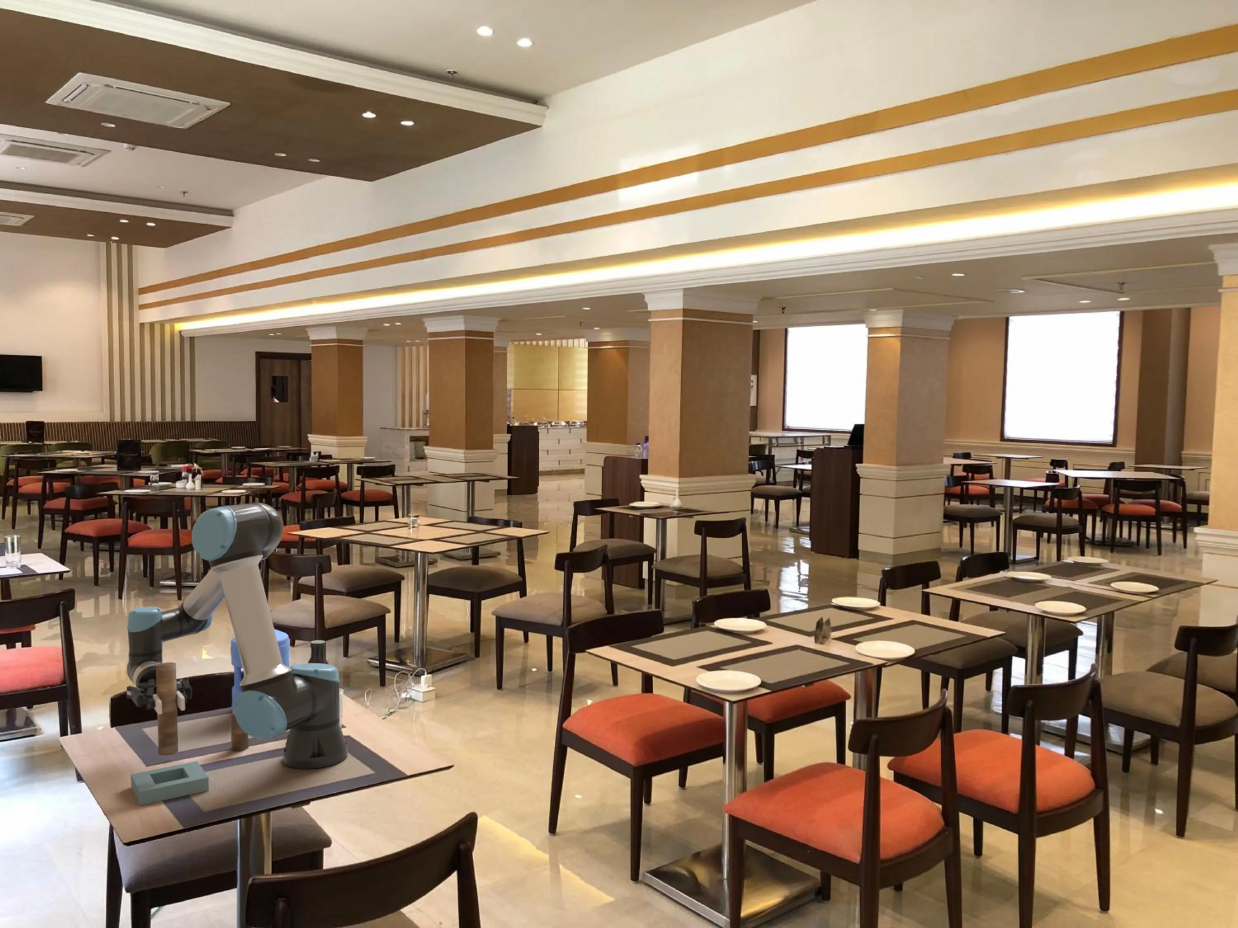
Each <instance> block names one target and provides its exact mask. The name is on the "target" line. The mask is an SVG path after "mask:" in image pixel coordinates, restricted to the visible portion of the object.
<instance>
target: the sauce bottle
mask: <svg viewBox="0 0 1238 928" xmlns="http://www.w3.org/2000/svg"><path fill="white" fill-rule="evenodd" d="M325 650H326V641H325V640H321V639H319V640H312V641H310V658H309V659H308V661H307V663H320V664H329V662H328V661H327V659H326V654H325V653H326V651H325Z"/></svg>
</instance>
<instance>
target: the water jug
mask: <svg viewBox="0 0 1238 928" xmlns="http://www.w3.org/2000/svg"><path fill="white" fill-rule="evenodd" d="M274 631H275V635H276V639H277V642H278V646H279V650H280V654H281V658H282V662H283V664H284V665H285V666H287V667H289V668H290V640H289V639H290V638H289V635H288V634H287V632H283V631H281V630H278V629H275V628H274ZM229 649H230V656H231V657H230V658H231V659H230V660H231V661H230V662H231V665H232V666H233V672H234V673H233V674H234V676H233V679H234V681H233V682H234V685H233V686H232V687H231V696H232V698H231V701H232V702H231V710H232V713H233V712H234V707H235V704H236V700H237V698H238V697H239V696H240V695H241V694H242V693H241V688H240V683H241V681H242V669H243V667H242V663H241V659H240V655H239V651H238V647H237V643H236V639H235V636H234V637H232V639H231V640H230V648H229Z"/></svg>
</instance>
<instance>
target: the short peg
mask: <svg viewBox="0 0 1238 928" xmlns="http://www.w3.org/2000/svg"><path fill="white" fill-rule="evenodd" d="M230 743H231V744H230V746H231V751H232V752H242V750H243V751H246V750H248V749H249V734H248V733H246V732H244V731H243V730H242V728H241V727H240V726H239V724H238V722H237V720H236V717H235V712H233V711H232V712H230ZM247 748H248V749H247ZM245 749H246V750H245Z"/></svg>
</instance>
